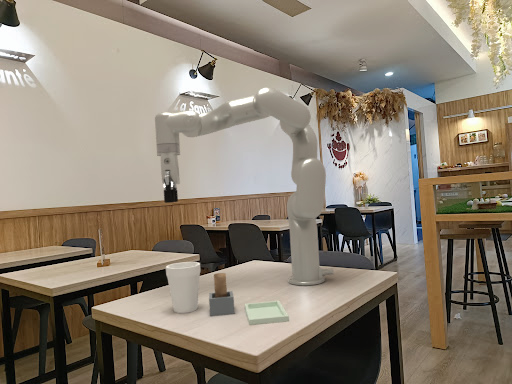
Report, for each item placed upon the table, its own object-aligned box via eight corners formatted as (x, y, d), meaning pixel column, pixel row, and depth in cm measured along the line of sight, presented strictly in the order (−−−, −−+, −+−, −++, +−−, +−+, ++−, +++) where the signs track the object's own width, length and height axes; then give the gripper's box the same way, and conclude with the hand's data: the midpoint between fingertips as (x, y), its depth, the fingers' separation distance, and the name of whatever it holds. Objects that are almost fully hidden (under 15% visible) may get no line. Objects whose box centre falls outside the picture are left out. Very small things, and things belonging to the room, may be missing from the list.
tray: (244, 310, 105) (244, 303, 105) (279, 307, 106) (279, 300, 106) (249, 327, 91) (249, 319, 91) (289, 323, 93) (288, 316, 93)
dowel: (227, 308, 105) (225, 272, 105) (228, 312, 102) (225, 274, 102) (216, 310, 105) (213, 273, 105) (216, 313, 102) (213, 276, 102)
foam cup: (171, 307, 112) (168, 263, 112) (203, 305, 112) (200, 260, 112) (166, 318, 102) (163, 269, 102) (201, 315, 103) (198, 267, 103)
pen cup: (233, 308, 107) (232, 290, 107) (234, 316, 101) (233, 297, 101) (210, 311, 106) (209, 293, 106) (210, 318, 100) (209, 299, 100)
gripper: (177, 147, 119) (180, 202, 119) (182, 153, 136) (185, 201, 136) (152, 148, 118) (155, 203, 118) (160, 154, 136) (163, 202, 136)
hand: (171, 202), depth 127 cm, fingers open, 9 cm apart
